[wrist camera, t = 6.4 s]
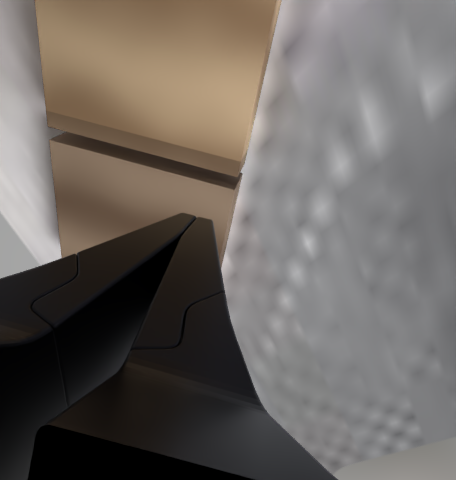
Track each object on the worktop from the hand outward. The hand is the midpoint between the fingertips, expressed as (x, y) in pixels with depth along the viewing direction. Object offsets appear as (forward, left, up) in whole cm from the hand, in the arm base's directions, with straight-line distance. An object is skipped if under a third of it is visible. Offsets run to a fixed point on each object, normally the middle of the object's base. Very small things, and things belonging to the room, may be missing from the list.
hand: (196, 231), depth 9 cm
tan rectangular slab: (+4, +5, -10) cm, 12 cm away
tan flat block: (-7, +5, -10) cm, 13 cm away
